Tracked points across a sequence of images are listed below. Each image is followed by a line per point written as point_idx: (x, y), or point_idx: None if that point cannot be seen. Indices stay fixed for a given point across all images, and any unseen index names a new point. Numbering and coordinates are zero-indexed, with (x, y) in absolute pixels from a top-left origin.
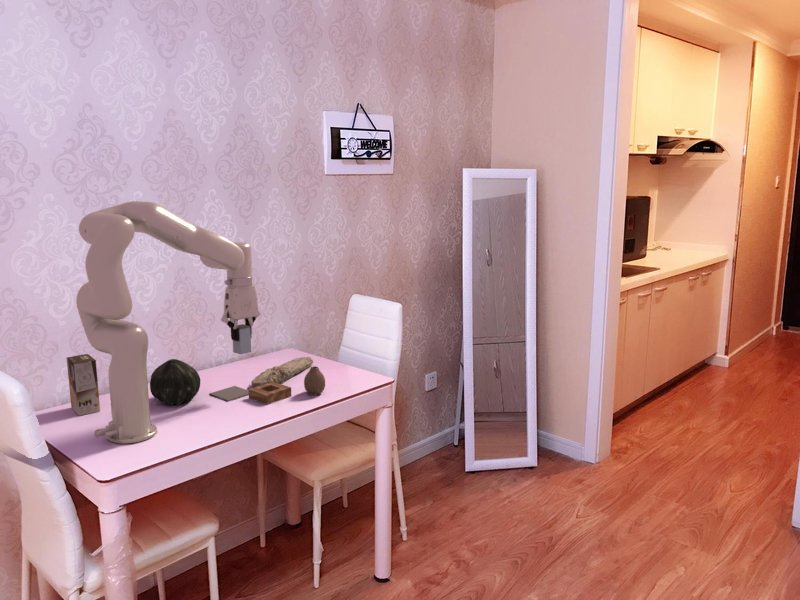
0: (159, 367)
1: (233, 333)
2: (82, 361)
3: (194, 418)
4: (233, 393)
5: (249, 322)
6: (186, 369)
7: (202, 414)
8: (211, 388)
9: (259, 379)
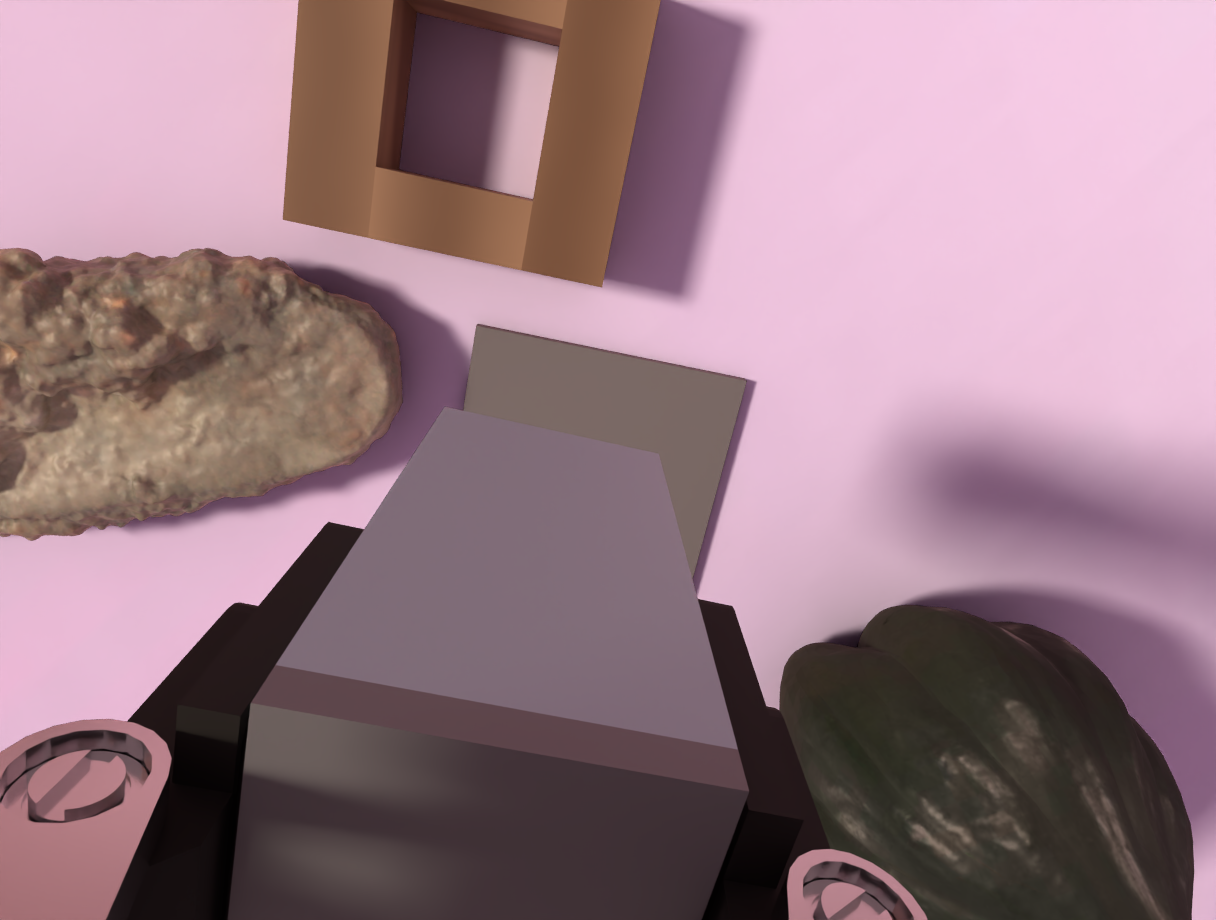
0: None
1: (802, 800)
2: None
3: (1163, 348)
4: None
5: (127, 877)
6: (1053, 805)
7: (1069, 355)
8: None
9: (307, 395)
